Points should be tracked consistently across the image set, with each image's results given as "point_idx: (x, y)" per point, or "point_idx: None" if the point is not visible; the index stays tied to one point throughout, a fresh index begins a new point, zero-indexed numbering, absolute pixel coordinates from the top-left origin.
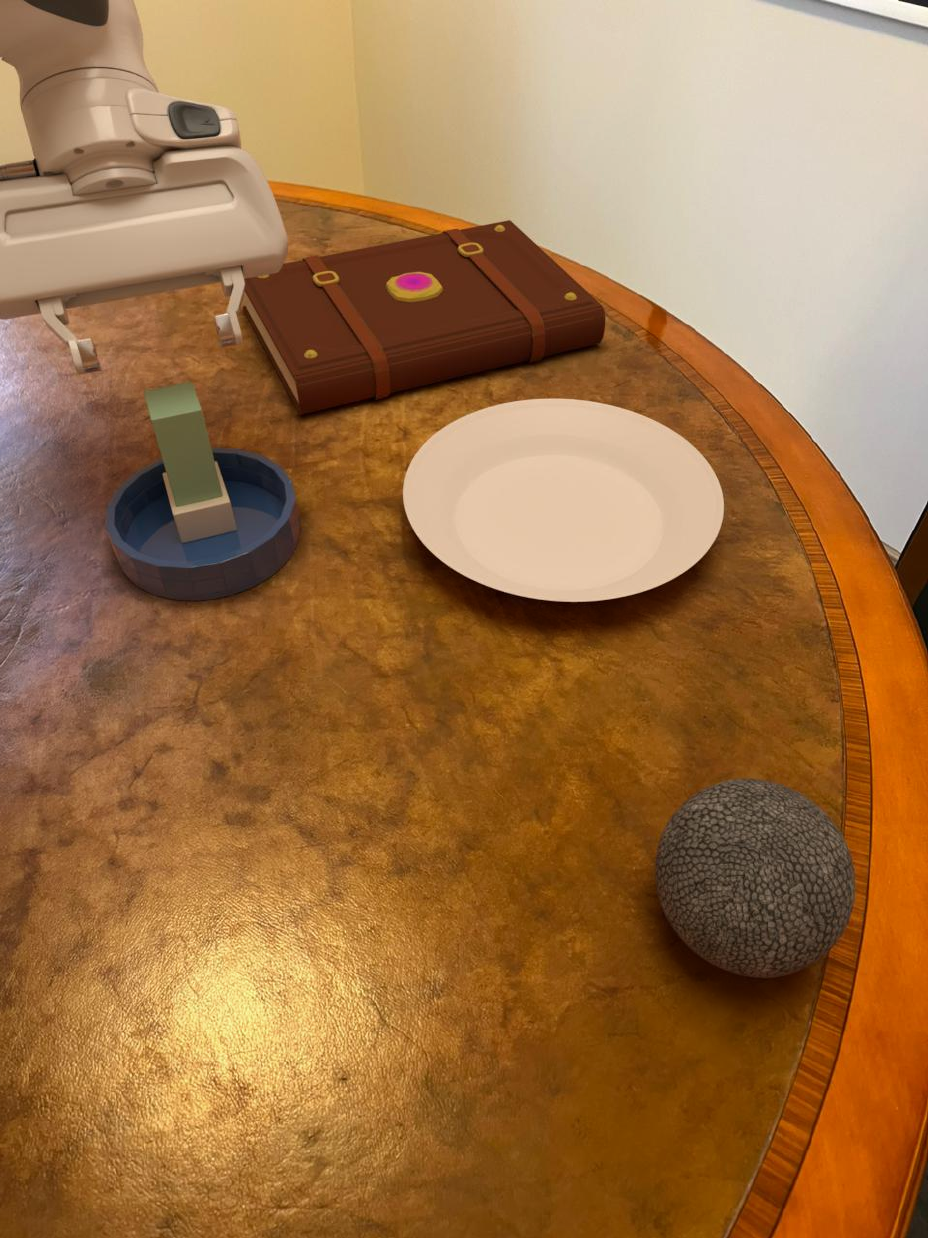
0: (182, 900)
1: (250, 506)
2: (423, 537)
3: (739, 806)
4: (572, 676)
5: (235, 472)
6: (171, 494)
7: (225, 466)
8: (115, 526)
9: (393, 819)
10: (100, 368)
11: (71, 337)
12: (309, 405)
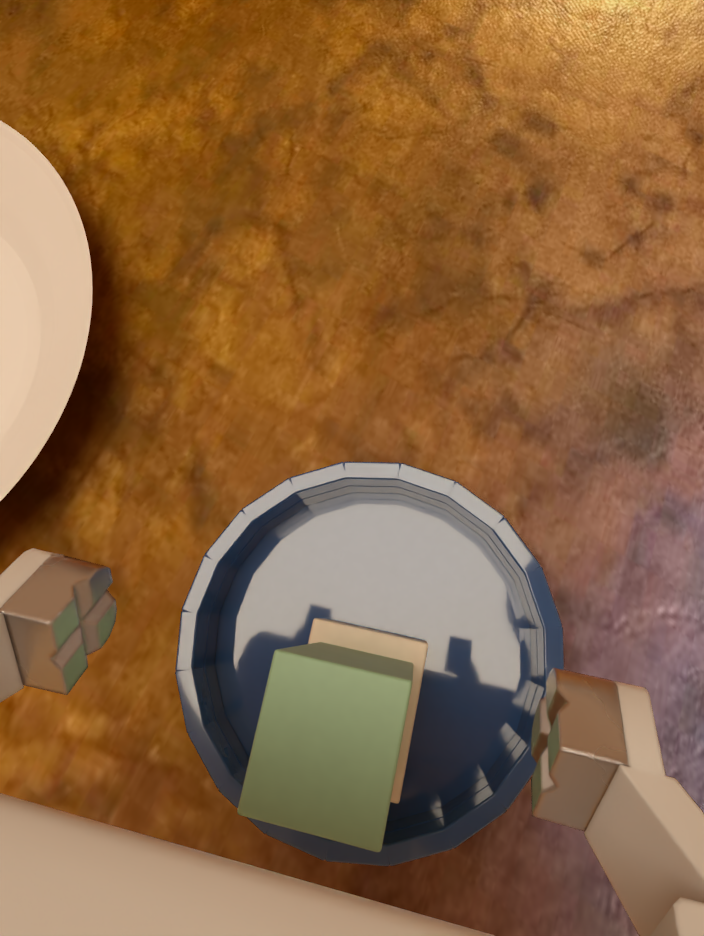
0: (634, 64)
1: None
2: (79, 348)
3: None
4: (84, 120)
5: None
6: (408, 712)
7: None
8: (542, 688)
9: (381, 51)
10: (540, 702)
11: (647, 783)
12: None
